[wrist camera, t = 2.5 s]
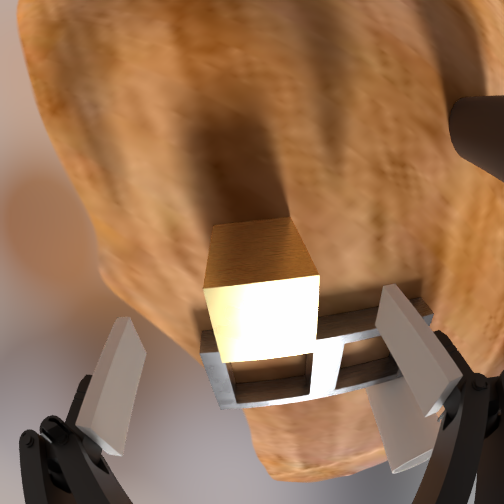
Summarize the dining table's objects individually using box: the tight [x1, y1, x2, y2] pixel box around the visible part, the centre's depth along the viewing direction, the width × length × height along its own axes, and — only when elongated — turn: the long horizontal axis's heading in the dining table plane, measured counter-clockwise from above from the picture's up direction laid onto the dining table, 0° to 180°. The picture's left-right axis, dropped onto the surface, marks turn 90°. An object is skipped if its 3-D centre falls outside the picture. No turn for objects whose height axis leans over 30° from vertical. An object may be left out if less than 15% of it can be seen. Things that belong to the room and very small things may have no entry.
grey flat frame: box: [200, 297, 434, 410], centre depth 23 cm, size 9×20×2 cm, turn 96°
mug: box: [366, 376, 441, 473], centre depth 24 cm, size 10×7×12 cm, turn 22°
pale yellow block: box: [203, 217, 319, 363], centre depth 16 cm, size 5×5×7 cm
